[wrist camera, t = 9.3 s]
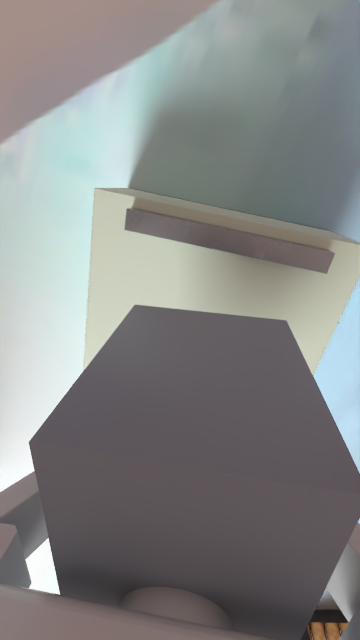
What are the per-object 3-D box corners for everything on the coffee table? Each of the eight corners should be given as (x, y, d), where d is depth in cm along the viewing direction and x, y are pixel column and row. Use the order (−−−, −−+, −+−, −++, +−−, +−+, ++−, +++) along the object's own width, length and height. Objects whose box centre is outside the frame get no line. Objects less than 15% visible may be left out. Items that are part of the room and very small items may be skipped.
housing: (135, 304, 10) (-21, 504, 4) (286, 320, 10) (412, 583, 3) (135, 485, 14) (60, 740, 7) (245, 503, 13) (264, 794, 7)
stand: (109, 358, 26) (75, 413, 20) (127, 188, 20) (86, 188, 14) (265, 394, 26) (281, 461, 19) (330, 231, 20) (383, 251, 13)
